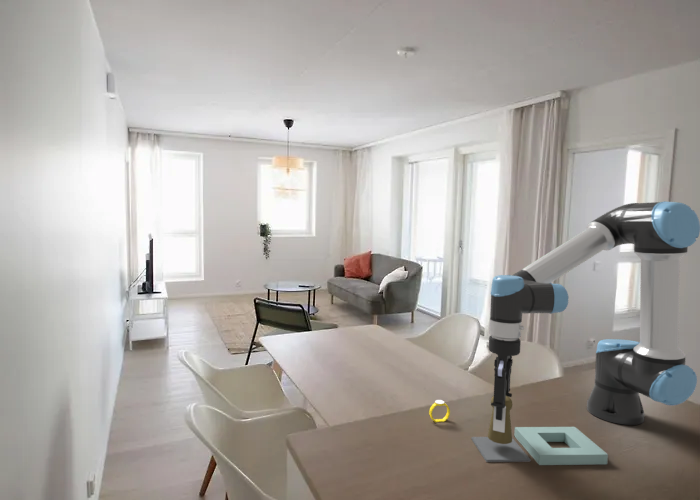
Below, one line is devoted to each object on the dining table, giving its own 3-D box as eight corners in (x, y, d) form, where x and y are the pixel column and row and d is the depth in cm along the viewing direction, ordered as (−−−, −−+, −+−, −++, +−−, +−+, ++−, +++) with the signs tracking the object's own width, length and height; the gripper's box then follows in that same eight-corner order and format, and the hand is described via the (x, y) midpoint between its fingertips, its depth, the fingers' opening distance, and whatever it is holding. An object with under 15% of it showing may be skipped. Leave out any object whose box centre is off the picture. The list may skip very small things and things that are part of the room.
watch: (432, 425, 124) (431, 405, 123) (428, 420, 127) (427, 401, 126) (451, 422, 125) (450, 402, 125) (447, 417, 128) (446, 398, 127)
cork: (516, 438, 110) (518, 396, 110) (506, 446, 106) (508, 403, 105) (493, 429, 114) (495, 389, 114) (483, 437, 110) (485, 396, 109)
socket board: (574, 435, 119) (574, 426, 119) (607, 464, 105) (607, 454, 105) (514, 435, 118) (514, 427, 118) (539, 465, 104) (539, 455, 104)
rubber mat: (511, 438, 116) (511, 436, 116) (530, 461, 105) (530, 459, 105) (471, 439, 116) (471, 436, 116) (486, 462, 105) (486, 459, 105)
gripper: (516, 348, 99) (511, 446, 100) (524, 330, 115) (519, 415, 116) (483, 343, 102) (478, 438, 104) (494, 327, 118) (490, 409, 120)
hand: (500, 425), depth 110 cm, fingers closed on cork, 5 cm apart
